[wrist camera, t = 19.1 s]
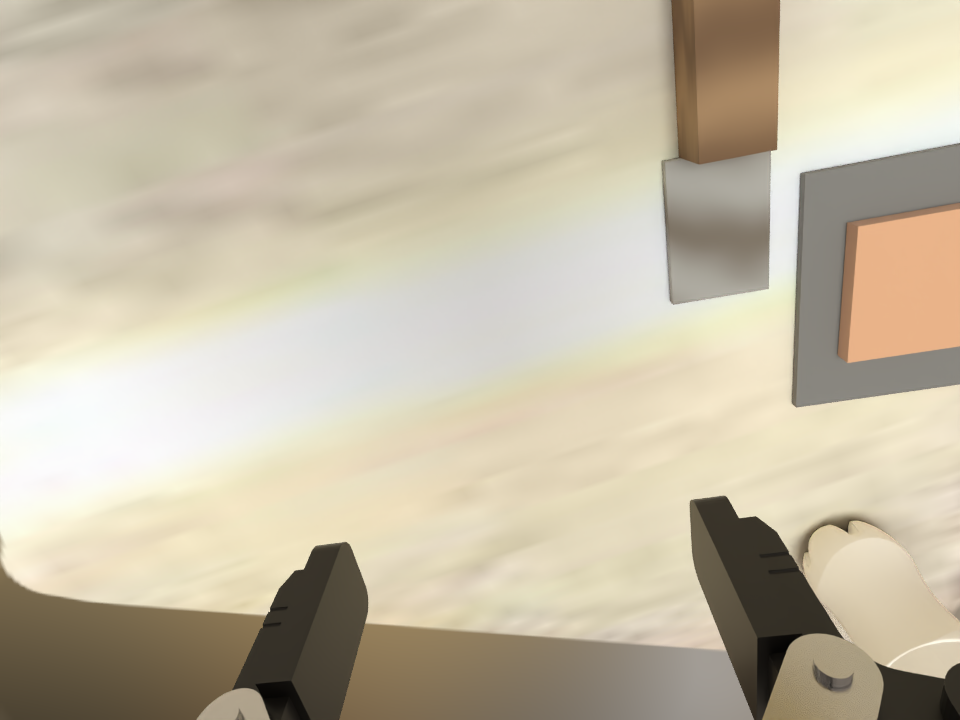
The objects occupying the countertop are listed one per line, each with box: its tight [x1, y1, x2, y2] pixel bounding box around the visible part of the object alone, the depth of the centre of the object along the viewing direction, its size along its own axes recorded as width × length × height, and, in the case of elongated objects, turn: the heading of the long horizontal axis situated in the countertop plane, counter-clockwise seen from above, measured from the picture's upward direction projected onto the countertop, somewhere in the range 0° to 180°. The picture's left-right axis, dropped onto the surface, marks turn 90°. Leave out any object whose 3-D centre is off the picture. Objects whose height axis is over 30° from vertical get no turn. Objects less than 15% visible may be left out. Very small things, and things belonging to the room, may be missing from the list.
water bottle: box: [803, 521, 960, 679], centre depth 34 cm, size 7×7×25 cm
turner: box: [662, 0, 780, 305], centre depth 31 cm, size 21×6×4 cm, turn 11°
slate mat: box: [792, 143, 960, 407], centre depth 36 cm, size 16×12×1 cm
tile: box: [838, 203, 960, 363], centre depth 35 cm, size 1×7×9 cm
